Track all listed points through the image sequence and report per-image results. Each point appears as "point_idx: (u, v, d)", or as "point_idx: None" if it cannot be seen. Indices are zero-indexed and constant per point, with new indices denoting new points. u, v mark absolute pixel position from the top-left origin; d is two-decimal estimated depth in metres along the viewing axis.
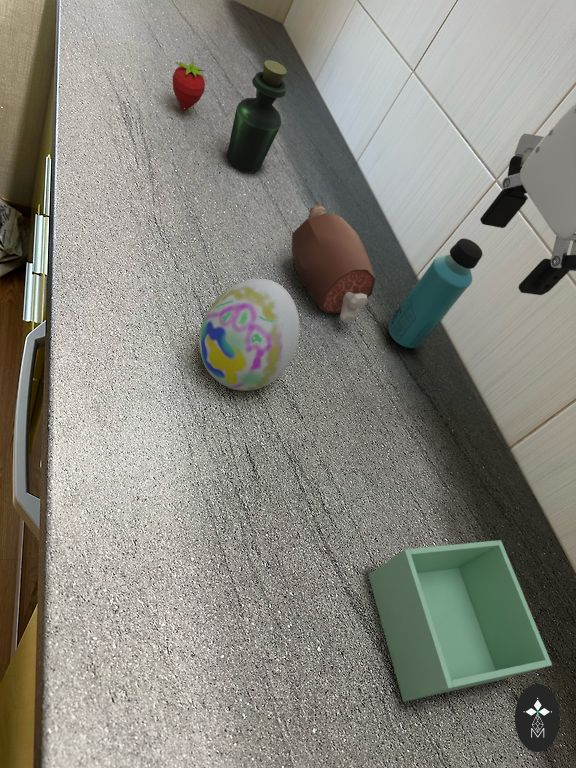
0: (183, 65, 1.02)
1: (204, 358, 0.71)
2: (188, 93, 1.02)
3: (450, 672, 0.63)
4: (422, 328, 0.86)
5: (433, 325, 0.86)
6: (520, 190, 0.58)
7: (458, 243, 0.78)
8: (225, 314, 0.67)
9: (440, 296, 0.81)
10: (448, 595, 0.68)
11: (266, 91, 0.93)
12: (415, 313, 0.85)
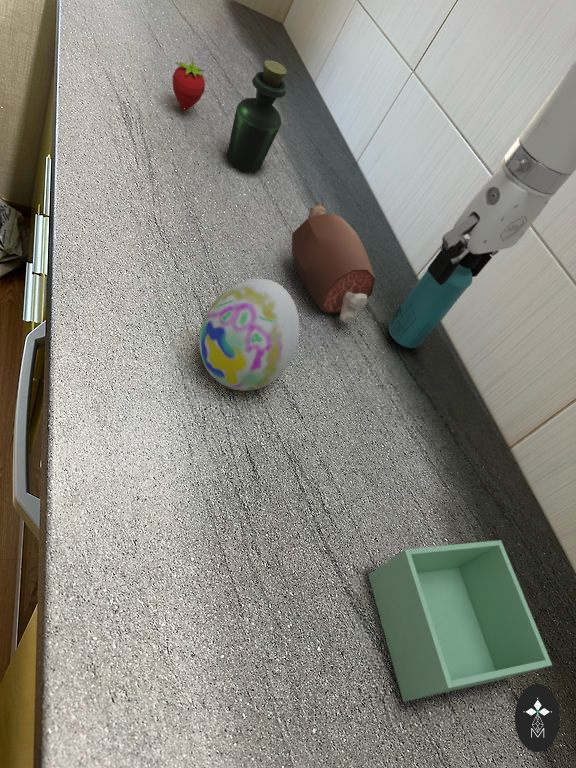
0: (183, 65, 1.02)
1: (204, 358, 0.71)
2: (188, 93, 1.02)
3: (450, 672, 0.63)
4: (423, 328, 0.86)
5: None
6: None
7: (458, 243, 0.78)
8: (225, 314, 0.67)
9: (440, 295, 0.81)
10: (448, 595, 0.68)
11: (266, 91, 0.93)
12: (415, 313, 0.85)
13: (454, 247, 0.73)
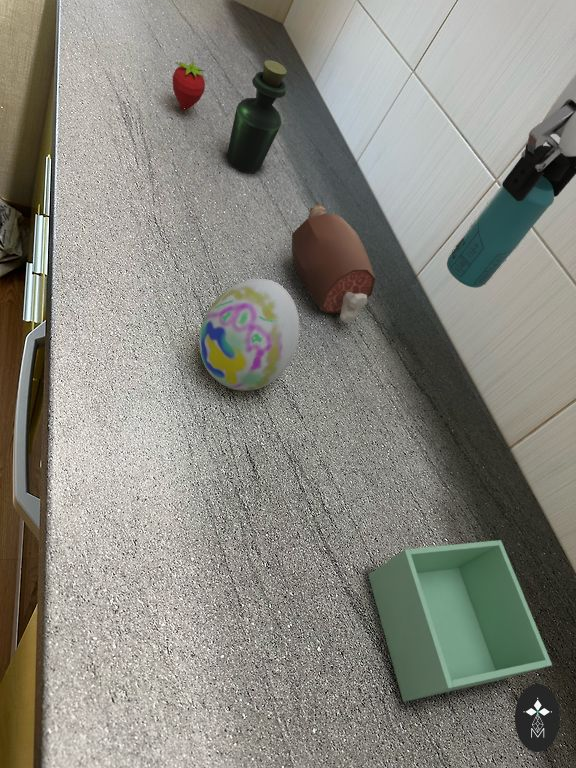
0: (183, 65, 1.02)
1: (204, 358, 0.71)
2: (188, 93, 1.02)
3: (450, 672, 0.63)
4: (491, 261, 0.73)
5: (503, 257, 0.73)
6: (572, 157, 0.67)
7: None
8: (225, 314, 0.67)
9: (516, 217, 0.68)
10: (448, 595, 0.68)
11: (266, 91, 0.93)
12: (484, 242, 0.72)
13: (542, 147, 0.60)
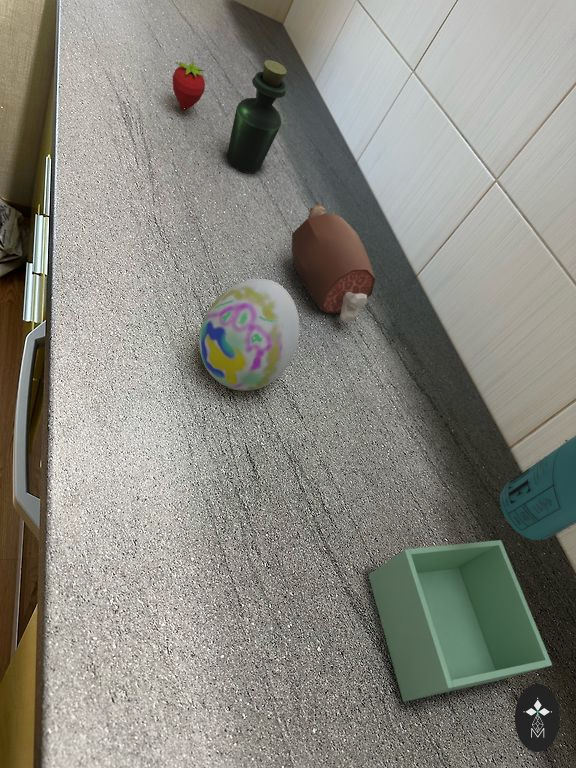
0: (183, 65, 1.02)
1: (204, 358, 0.71)
2: (188, 93, 1.02)
3: (450, 672, 0.63)
4: (568, 521, 0.51)
5: None
6: None
7: None
8: (225, 314, 0.67)
9: None
10: (448, 595, 0.68)
11: (266, 91, 0.93)
12: (561, 501, 0.49)
13: None
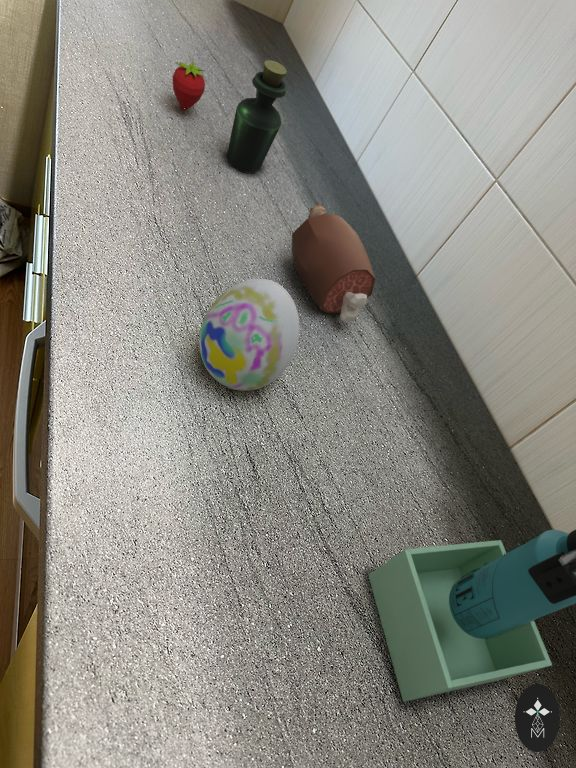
0: (183, 65, 1.02)
1: (204, 358, 0.71)
2: (188, 93, 1.02)
3: (450, 672, 0.63)
4: (508, 628, 0.55)
5: None
6: None
7: None
8: (225, 314, 0.67)
9: (546, 605, 0.49)
10: (448, 595, 0.68)
11: (266, 91, 0.93)
12: (500, 613, 0.53)
13: None
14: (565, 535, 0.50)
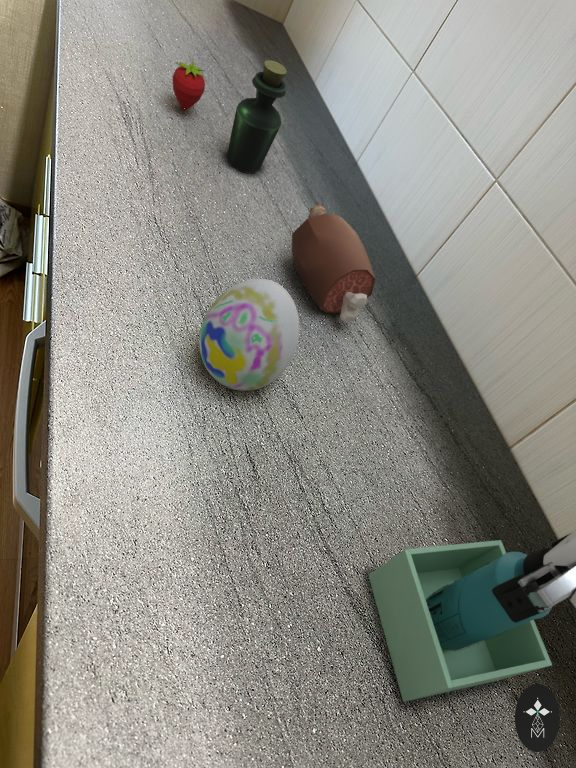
0: (183, 65, 1.02)
1: (204, 358, 0.71)
2: (188, 93, 1.02)
3: (450, 672, 0.63)
4: (474, 641, 0.59)
5: (490, 636, 0.59)
6: None
7: (538, 563, 0.50)
8: (225, 314, 0.67)
9: (506, 621, 0.54)
10: None
11: (266, 91, 0.93)
12: (465, 627, 0.57)
13: None
14: (523, 557, 0.54)
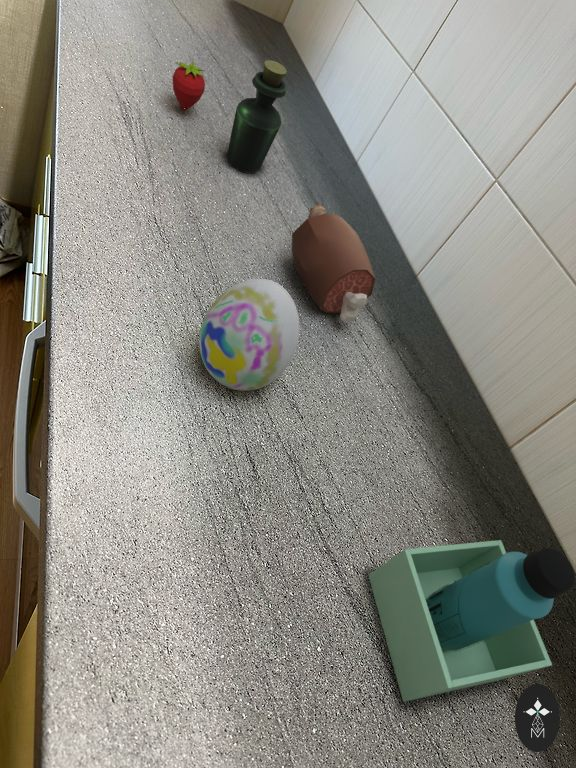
0: (183, 65, 1.02)
1: (204, 358, 0.71)
2: (188, 93, 1.02)
3: (450, 672, 0.63)
4: (474, 641, 0.59)
5: (490, 636, 0.59)
6: None
7: (538, 563, 0.50)
8: (225, 314, 0.67)
9: (506, 621, 0.54)
10: None
11: (266, 91, 0.93)
12: (465, 627, 0.57)
13: None
14: (523, 557, 0.54)
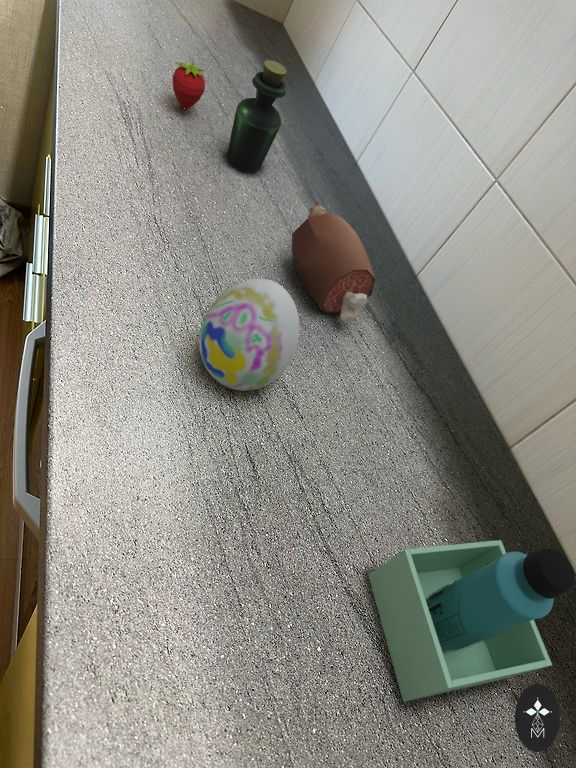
0: (183, 65, 1.02)
1: (204, 358, 0.71)
2: (188, 93, 1.02)
3: (450, 672, 0.63)
4: (474, 641, 0.59)
5: (490, 636, 0.59)
6: None
7: (538, 563, 0.50)
8: (225, 314, 0.67)
9: (506, 621, 0.54)
10: None
11: (266, 91, 0.93)
12: (465, 627, 0.57)
13: None
14: (523, 557, 0.54)
